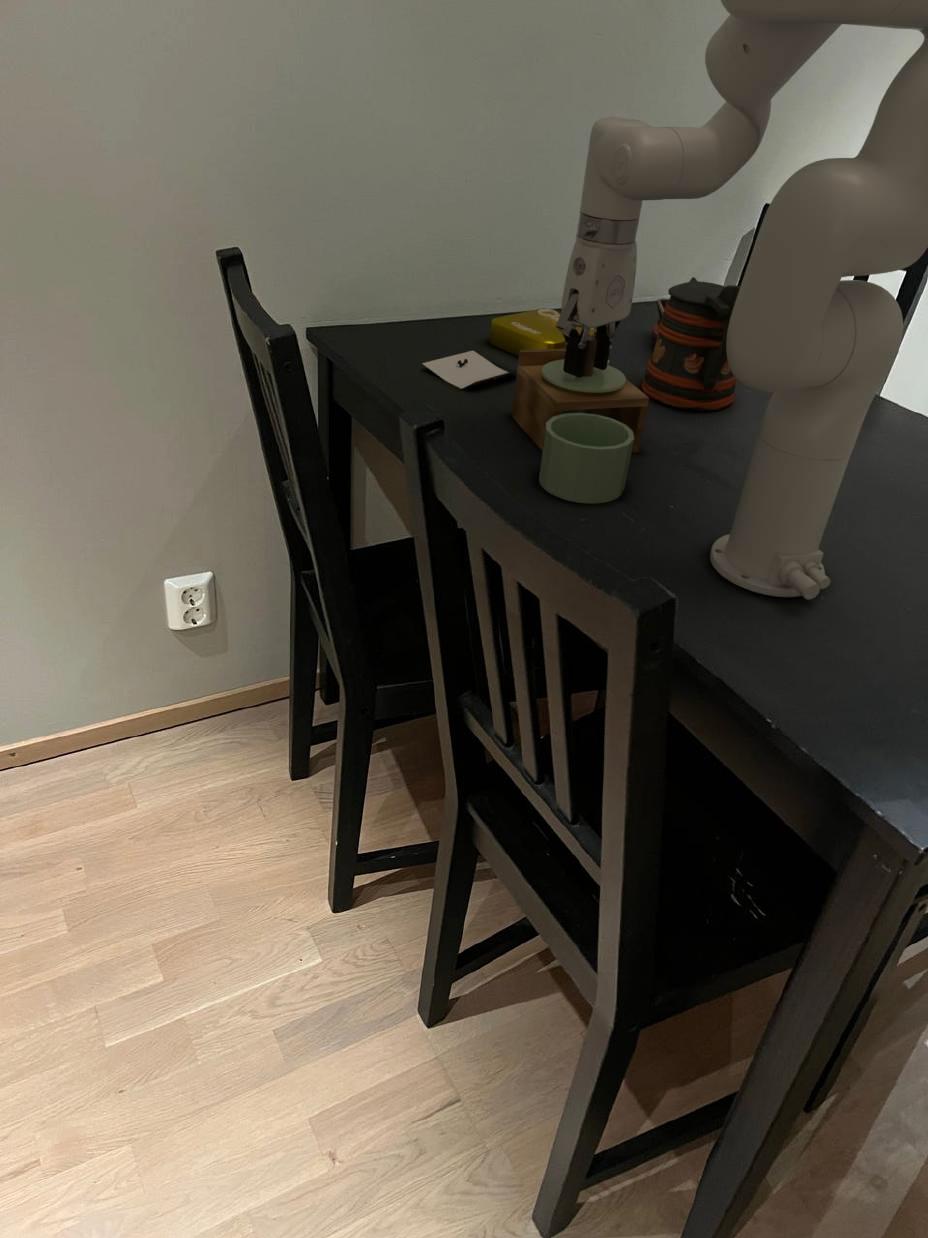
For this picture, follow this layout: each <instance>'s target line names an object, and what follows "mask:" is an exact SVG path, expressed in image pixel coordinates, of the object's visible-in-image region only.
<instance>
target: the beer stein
mask: <svg viewBox="0 0 928 1238" xmlns="http://www.w3.org/2000/svg"><path fill="white" fill-rule="evenodd" d="M740 287H741V285H730V284H729V285H726V286H725V285H721V284H717V283H714V282H708V281H700V280H699V281H698V280H697V278H696V277H694V276H692V277H691V278H690V280H689V281H687V282H683V283H678V284H675V285H673V286H671V287H670V288H668V291H667V292H668V295H669V296H670V297H669V298H668V299H669V301H667V302H666V307H665V308H664V312H663V316H662V318H661V321H660V325H659V327H658V331H659V334H658V337H657V341H656V340H655V344H654V348H653V352H652V355H651V357H650V358H649V359H648V360H647V365H646V368H645V373H644V378H643V382H642V383H641V392H643V393H644V394H645V395H646V396H648V397H649V398H650V399H653V400H655V401H656V402H659V403H660V404H663V405H665V406H671V407H673V408H677V409H682V410H690V411H701V412H704V411H718V410H722V409H724V408H727V407H729V406H730V405H731V404H732V403H733V402H734V400H735V391H736V385H737V381H738V380H737V379H736V378H735V376H734V375H733V373H732V371H731V369H730V366H729V363H728V359H727V352H726V339H727V331H728V326H729V322H730V318H731V314H732V311H733V308H734V305H735V302H736V299H737V296H738V293H739V290H740Z"/></svg>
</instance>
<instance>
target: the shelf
mask: <svg viewBox="0 0 928 1238" xmlns="http://www.w3.org/2000/svg"><path fill="white" fill-rule="evenodd" d="M565 353H566V349H543V350H520V351H519V357H518V359H517V369H516V370H517V372H516V378H515V379H516V380H515V388H514V396H513V406H512V413H511V418H512V419H513V420H514V421H515V422H516V424H517V425H519V427H520V428H521V429H522V430H523V431H524V432H525V433H526V434H527V436H529V438H530V439H531V440H532V441H533V442H534V443H535V445H536V446H537V447H538V448H539V449H540V450H541V451H542V448H543V441H544V434H545V426H546V422H547V421H548V420H550V419H551V418H552V417H554V416H557V415H561V414H563V411H583V410H589V414H597V415H601V416H605V417H608V418H612V419H615V420H617V421H619V422H621V423H623V424H625V425H626V426H628V427H629V428H630V429H631V430H632V431H633V434H634V443H633V448H632V453H631V454H634V453H639V451H640V446H641V441H642V437H643V432H644V426H645V423H646V422H645V421H646V416H647V412H648V407H649V402H650V396H648V395H646V394H645V393H643V391H642V390H640V389H639V388H638V387H637V386H636V385H634V384H633V383H632V382H630V381H629V380H628V379H627V378H626V382H625V385H624V386H623V387H622V388H620V389H618V390H615V391H611V392H602V393H590V392H579V391H574V390H570V389H566V388H562V387H559V386H557V385H554V384H552V383H550V382H549V381H547V380H546V379H545V378H544V377H543V375H542V368H543V366H544V365H545V364H547V363H549V362H552V361H556V360H563V359H565ZM607 365H609V363H608V364H607Z"/></svg>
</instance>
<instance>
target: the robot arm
mask: <svg viewBox="0 0 928 1238" xmlns="http://www.w3.org/2000/svg"><path fill="white" fill-rule="evenodd" d="M720 2H721V5H722V6H723V8H724V10H725V11H726V12H727V13H728V14H729V15H728V16H727V18H726V19H725V20H724V21H723V23H722V24H721V25H720V26H719V27H718V29H717V30H716V31H715V32H714V33H713V35H712V36H711V38H710V39H709V41H708V43H707V45H706V49H705V53H704V64H705V70H706V72H707V75H708V78H709V80H710V82H711V84H712V86H713V88H714V89H715V91H717V93H718V94H719V95H720V97H721V98H722V99H723V100H724V101H725V102H724V103H723V104H722V105H721V107H720V108H719V109H718V110H717V111H716V112H715V113H714V114H713V116H711V118H710V119H709V120H708V121H707V122H706V123H705V124H703V125H702V126H701V127H694V126H651V125H650V124H649V123H647V122H646V121H643V120H639V119H635V118H630V117H629V118H627V117H617V116H616V117H615V116H610V117H608V116H607V117H601V118H598V120H596V121H595V122H594V123H593V125H592V127H591V130H590V134H589V141H588V149H587V154H586V155H587V156H586V162H585V169H584V177H583V182H582V183H583V184H582V192H581V198H580V206H579V213H578V220H577V227H576V234H575V241H574V244H573V247H572V251H571V254H570V258H569V263H568V265H567V271H566V275H565V281H564V285H563V292H562V298H561V299H562V300H561V311H560V313H561V316H560V318H559V320H558V322H557V324H556V327H557V329H558V330H559V331H560V332H561V333H562V334H563V336H564V338H565V340H564V342H565V343H566V344H567V346H566V353H565V360H564V367H563V371H564V372H566V373H568V374H571V375H573V376H576V377H579V378H581V377H583V376H584V372H585V366H586V360H587V353H588V348H585V346H586V342H587V339H588V335H589V332H590V328H594V335H595V336H596V337H598V345H597V351H596V357H595V363H594V367H595V368H598V369H600V370H605V369H606V368H607V363H608V360H609V356H610V351H611V349H610V346H611V347H612V341H613V340H614V339H615V336H616V330H617V328H618V327H619V325H620V323H621V321H622V320H625V319H627V317H629V315H630V313H631V310H632V305H633V298H634V291H635V284H636V276H637V275H636V274H637V264H638V262H637V261H638V242H637V234H638V229H639V224H640V223H639V222H640V216H641V212H642V211H641V209H642V207H643V206H642V205H643V201H662V200H697V199H702V198H706V197H708V196H709V195H711V194H713V193H715V192H716V191H719V189H721V188H722V187H723V186H724V185H726V183H728V182H729V181H730V180H732V178H733V177H734V176H735V175H736V174H737V173H738V172H739V171H740V170H742V168H743V167H744V166H745V165H746V164H747V163H748V162H749V161H750V160H751V159H752V157H754V155H755V154H756V152H757V151H758V149H759V147H760V145H761V143H762V141H763V139H764V137H765V133H766V130H767V128H768V125H769V120H770V117H771V110H772V99H773V98H774V97H775V96H776V95H777V94H778V92H779V91H780V90H781V89H782V88H784V86H785V85H786V84H787V83H788V82H789V81H790V80H791V78H792V77H793V76H794V75H795V74H796V73H797V72H798V71H799V70H800V69H801V68H802V67H803V66H805V64H806V63H807V62H808V61H809V60H810V59H811V58H812V57H813V55H815V53H816V52H817V51H818V50H819V49H820V48H821V47H822V46H823V45H824V44H825V43H826V42H827V41H828V40H829V39H830V37H831V36H833V34H835V32H836V31H837V30H838V29H839V28H840V27H841V26H842V25H850V26H851V25H852V26H861V27H863V26H864V27H873V28H874V27H875V28H886V29H894V30H895V29H898V30H915V31H918V32H920V33H921V34H922V35H923V41H922V43H921V45H920V46H919V47H918V49H917V50H916V51H915V52H914V53H913V54H912V56H910V57H909V58H908V59H907V61H906V62H905V64H903V66H902V67H901V68H900V70H898V72H897V74H896V75H895V76H894V77H893V79H892V80H891V83H890V84H889V85H888V87H887V89H886V90H885V92H884V95H883V96H882V98H881V100H880V103H879V105H878V108H877V111H876V114H875V116H874V119H873V122H872V125H871V127H870V129H869V132H868V134H867V136H866V139H865V140H864V143H863V144H862V147H861V149H860V150H859V152H858V153H857V155H856V156H854V157H832V158H823V159H820V160H815V161H813V162H810V163H808V164H806V165H804V166H803V167H800V168H799V169H798V170H796V171H795V172H794V173H792V175H790V177H789V178H787V180H786V181H785V182H784V183H783V184H782V185H781V186H780V188H779V190H778V191H777V192H776V194H775V195H774V196H773V198H772V200H771V201H770V203H769V205H768V208H767V210H766V212H765V214H764V216H763V220H762V222H761V225H760V227H759V232H758V234H757V237H756V240H755V243H754V246H753V249H752V252H751V255H750V257H749V261H748V264H747V266H746V269H745V272H744V275H743V278H742V281H741V283H740V286H741V287H740V290H739V293H738V296H737V299H736V302H735V305H734V308H733V311H732V314H731V318H730V322H729V326H728V331H727V339H726V352H727V359H728V363H729V366H730V369H731V371H732V373H733V375H734V376H735V378H736V379H737V380H736V381H738V382H739V383H740V385H742V386H743V387H745V388H747V389H749V390H751V391H754V392H757V393H758V392H759V393H768V394H769V393H770V394H771V393H773V394H772V395H771V397H770V399H769V401H768V403H767V406H766V408H765V411H764V412H763V415H762V419H761V421H760V422H761V423H760V426H759V430H758V431H757V435H756V439H755V443H754V446H753V450H752V454H751V457H750V460H749V465H748V468H747V471H746V475H745V479H744V482H743V486H742V489H741V493H740V496H739V500H738V504H737V507H736V511H735V514H734V518H733V522H732V525H731V529H730V533H729V534H725V535H723V536H721V537H718V538H717V539H716V540H715V541H714V542H713V544H712V546H711V549H710V553H709V560H710V563H711V565H712V567H713V568H714V570H715V571H717V573H718V574H719V575H721V577H723V578H724V579H726V580H727V581H729V582H731V583H732V584H733V585H736V586H738V587H739V588H742V589H745V590H747V591H750V592H753V593H756V594H761V595H764V596H771V597H778V598H797V597H803V598H804V599H806V600H808V601H810V600H813V599H815V598H817V596H818V595H819V593H820V592H821V590H824V589H826V588H828V587H829V586H830V585H831V581H832V580H831V579H830V577H829V576H827V574H826V571H825V570H826V569H825V567H824V565H823V563H822V560H823V558H824V552H823V551H822V550H820V545H821V543H822V540H823V536H824V535H825V530H826V528H827V524H828V521H829V519H830V516H831V513H832V511H833V508H834V504H835V502H836V499H837V496H838V493H839V491H840V488H841V484H842V481H843V479H844V476H845V473H846V470H847V467H848V464H849V461H850V458H851V455H852V453H853V452H854V448H855V446H856V443H857V440H858V437H859V434H860V431H861V429H862V426H863V423H864V421H865V419H866V416H867V414H868V411H869V409H870V407H871V404H872V403H873V401H874V398H875V397H876V395H877V393H878V390H879V389H880V387H881V385H882V384H883V382H884V380H885V378H886V377H887V375H888V373H889V371H890V370H891V368H892V366H893V364H894V362H895V359H896V358H897V354H898V353H899V350H900V347H901V344H902V340H903V334H904V318H903V313H902V309H901V307H900V304H899V303H898V301H897V299H896V298H895V297H894V295H893V294H892V293H890V291H888V290H887V289H886V288H884V287H882V286H881V285H878V284H876V283H874V282H871V281H866V280H860V279H843V278H846V277H861V276H873V275H874V276H875V275H882V274H888V273H892V272H897V271H902V270H903V269H906V268H908V267H910V266H912V265H913V264H915V263H916V262H917V261H918V260H920V258H921V257H922V256H923V255H924V253H925V252H926V251H927V249H928V0H720ZM578 320H580V321H578ZM577 326H578V327H581V328H582V330H581V333H580V335H579V333H578V331H577V330H576V327H577ZM594 335H593V336H594ZM610 340H612V341H610ZM608 364H609V363H608Z"/></svg>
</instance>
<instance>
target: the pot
mask: <svg viewBox="0 0 928 1238" xmlns="http://www.w3.org/2000/svg"><path fill="white" fill-rule="evenodd" d="M633 443H634V434H633V431H632V430H631V429H630V428H629V427H628V426H626V425H625V424H623V423H621V422H619V421H617V420H615V419H612V418H608V417H605V416H601V415H597V414H590V413H587V412H566V413H562V414H561V415H557V416H554V417H552V418H551V419H550V420H548V421H547V422H546V426H545V434H544V441H543V448H542V450H541V455H540V463H539V471H538V482H539V485H540V487H542V489H544V490H545V491H546V492H547V493H549V494H550V495H552V496H554V497H556V498H559V499H562V500H564V501H568V502H574V503H578V504H591V505H592V504H593V505H594V504H603V503H609V502H612V501H615V500H617V499H618V498H620V497H621V496H622V494H623V493H624V491H625V488H626V483H627V478H628V474H629V468H630V463H631V457H632V454H633V453H632V448H633Z"/></svg>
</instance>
